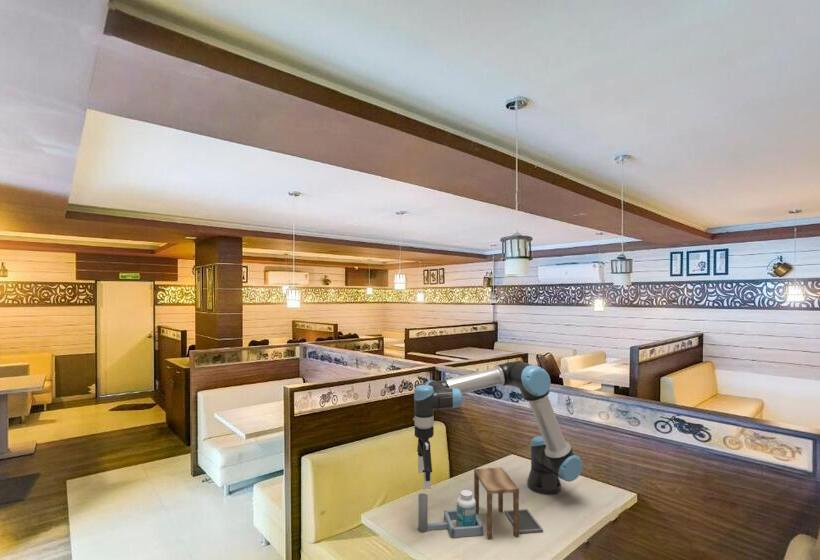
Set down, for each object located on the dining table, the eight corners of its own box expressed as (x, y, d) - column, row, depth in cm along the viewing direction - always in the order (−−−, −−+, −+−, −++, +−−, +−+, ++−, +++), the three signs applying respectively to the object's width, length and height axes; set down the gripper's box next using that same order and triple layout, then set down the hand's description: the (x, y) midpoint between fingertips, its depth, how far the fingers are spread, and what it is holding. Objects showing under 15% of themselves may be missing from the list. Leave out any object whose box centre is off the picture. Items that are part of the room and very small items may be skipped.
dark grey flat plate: (527, 511, 176) (527, 509, 176) (543, 532, 161) (543, 529, 161) (504, 513, 175) (504, 510, 175) (518, 534, 160) (518, 531, 160)
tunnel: (501, 510, 177) (501, 467, 177) (518, 537, 158) (518, 488, 158) (474, 512, 175) (474, 469, 176) (488, 539, 157) (488, 490, 157)
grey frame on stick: (473, 515, 173) (473, 484, 173) (483, 535, 159) (483, 500, 159) (415, 520, 169) (416, 487, 170) (421, 539, 156) (421, 504, 156)
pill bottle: (454, 522, 168) (454, 488, 168) (472, 520, 169) (472, 487, 169) (460, 533, 161) (459, 498, 161) (478, 531, 162) (478, 496, 162)
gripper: (410, 416, 176) (410, 466, 176) (419, 437, 151) (419, 496, 151) (427, 415, 177) (428, 465, 177) (439, 436, 152) (440, 495, 152)
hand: (424, 480), depth 164 cm, fingers open, 13 cm apart
